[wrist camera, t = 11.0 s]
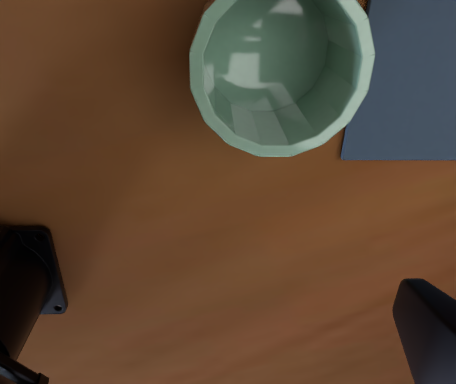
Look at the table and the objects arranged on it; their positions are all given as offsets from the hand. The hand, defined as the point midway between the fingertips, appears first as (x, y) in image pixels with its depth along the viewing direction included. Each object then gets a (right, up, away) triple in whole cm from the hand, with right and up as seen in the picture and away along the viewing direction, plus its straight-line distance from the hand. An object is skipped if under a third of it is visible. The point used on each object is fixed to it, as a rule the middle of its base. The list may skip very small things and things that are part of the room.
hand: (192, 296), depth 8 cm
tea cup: (+2, +9, +10) cm, 14 cm away
